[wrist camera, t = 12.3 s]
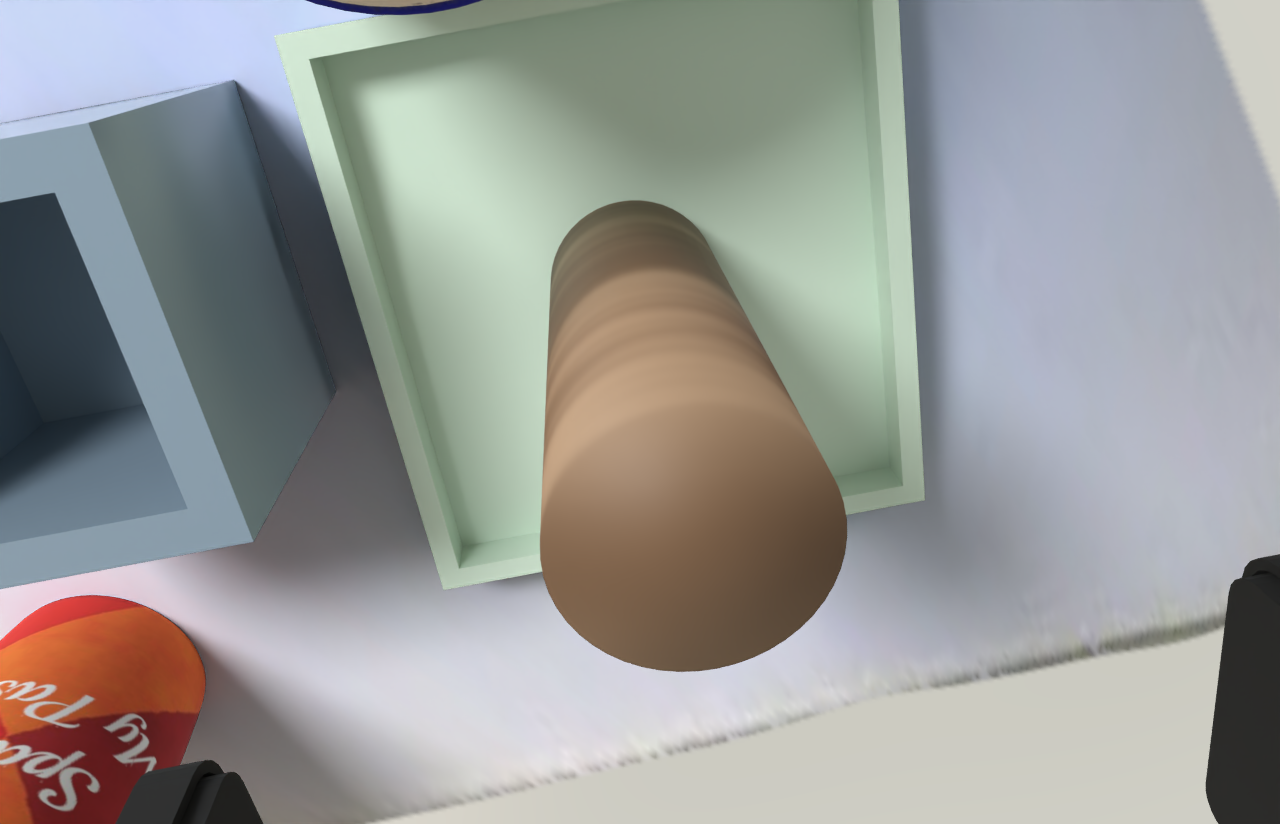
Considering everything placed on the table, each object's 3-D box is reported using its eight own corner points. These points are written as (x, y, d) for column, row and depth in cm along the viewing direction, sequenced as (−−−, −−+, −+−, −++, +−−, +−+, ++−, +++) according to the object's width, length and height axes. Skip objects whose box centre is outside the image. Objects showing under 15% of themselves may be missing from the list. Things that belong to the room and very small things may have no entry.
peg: (534, 217, 25) (507, 440, 13) (703, 185, 25) (833, 378, 13) (569, 374, 26) (574, 695, 15) (726, 344, 26) (858, 641, 15)
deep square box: (-105, 142, 24) (-403, 213, 16) (234, 79, 24) (88, 123, 16) (40, 446, 27) (-152, 617, 20) (336, 391, 27) (253, 541, 20)
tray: (296, 31, 23) (273, 35, 21) (867, -75, 23) (894, -80, 21) (450, 552, 29) (443, 590, 28) (902, 468, 29) (924, 500, 28)
